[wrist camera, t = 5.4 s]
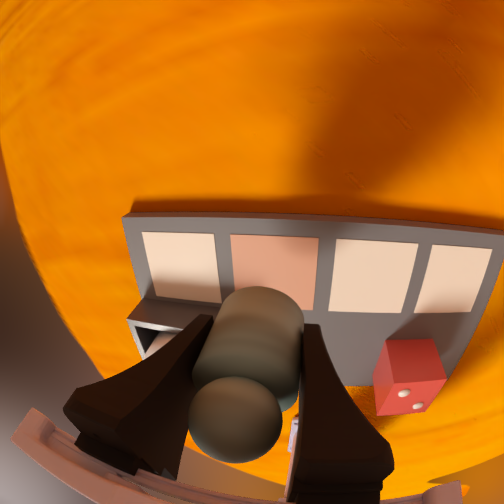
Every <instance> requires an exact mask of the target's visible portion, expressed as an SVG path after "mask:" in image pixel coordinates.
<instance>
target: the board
mask: <svg viewBox="0 0 504 504" xmlns="http://www.w3.org/2000/svg"><path fill="white" fill-rule="evenodd" d="M122 223H123V227H124V232H125V237H126V241H127V245H128V250H129V254H130V258H131V262H132V266H133V270H134V273H135V277H136V281H137V284H138V288H139V292H140V295H141V298H142V300H141V301H140V303H139V304H138V305H137V306H136V308H135V309H134V310H133V311H132V312H131V314H130V315H129V316H128V317H127V322H128V324H129V327H130V330H131V332H132V335H133V338H134V340H135V343H136V345H137V347H138V350H139V352H140V355H141V357H142V359H143V360H144V355H145V353H146V352H147V350H148V349H149V347H150V346H151V344H152V342H153V341H154V339H155V338H156V336H157V335H158V334H159V332H161V331H165V332H171V333H177V334H178V333H179V332H180V331H181V330H183V329H184V328H185V327H186V326H187V325H188V324H189V323H190V322H191V321H193V320H194V319H195V318H196V317H197V316H198V315H199V314H206V315H213V320H214V322H215V319H216V317H217V315H218V313H219V311H220V308H221V306H222V304H223V302H224V301H225V299H226V298H227V297H228V296H229V295H230V294H232V293H233V292H235V291H237V290H239V289H242V288H245V287H251V286H262V287H269V288H273V289H276V290H279V291H281V292H283V293H285V294H286V295H288V296H289V297H291V298H292V299H293V300H294V301H295V302H296V303H297V304H298V306H299V307H300V309H301V310H302V313H303V316H304V323H309V324H319V325H320V326H321V332H322V336H323V339H324V342H325V345H326V348H327V351H328V354H329V356H330V358H331V361H332V363H333V365H334V368H335V370H336V372H337V374H338V376H339V378H340V380H341V382H342V383H343V385H344V386H374V385H373V377H372V374H373V372H374V369H375V367H376V364H377V361H378V359H379V356H380V353H381V350H382V348H383V345H384V342H385V340H409V339H433V341H434V343H435V346H436V349H437V351H438V354H439V357H440V360H441V362H442V365H443V368H444V371H445V374H446V377H447V380H448V379H449V377H450V375H451V374H452V372H453V370H454V369H455V367H456V365H457V364H458V362H459V360H460V358H461V357H462V355H463V353H464V351H465V349H466V347H467V346H468V344H469V342H470V340H471V338H472V336H473V334H474V332H475V330H476V328H477V326H478V323H479V321H480V319H481V317H482V315H483V312H484V310H485V308H486V306H487V303H488V301H489V298H490V296H491V293H492V291H493V288H494V285H495V283H496V280H497V277H498V274H499V271H500V269H501V265H502V262H503V259H504V231H503V230H496V229H488V228H479V227H471V226H462V225H452V224H442V223H432V222H421V221H409V220H397V219H383V218H369V217H353V216H335V215H314V214H289V213H256V212H129V213H128V214H126V215H125V216H123V217H122ZM447 380H446V381H447Z"/></svg>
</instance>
